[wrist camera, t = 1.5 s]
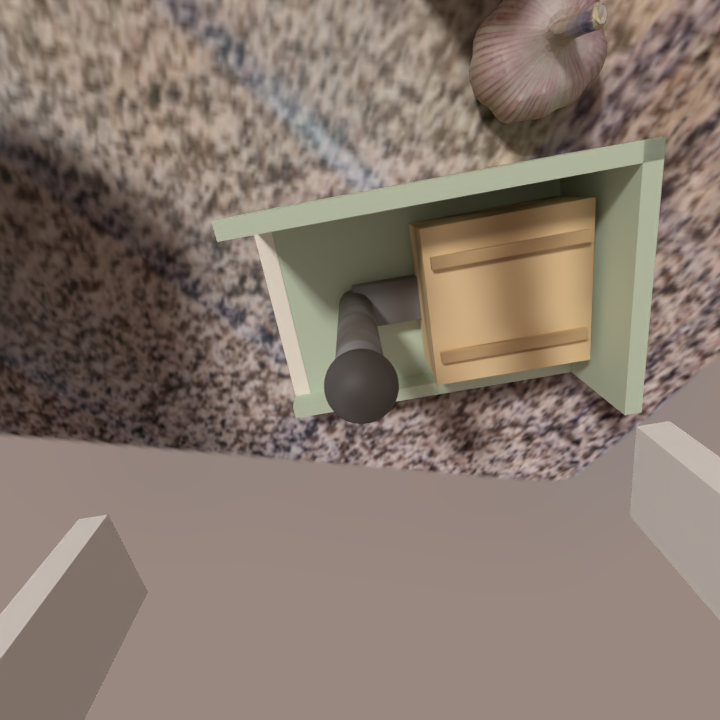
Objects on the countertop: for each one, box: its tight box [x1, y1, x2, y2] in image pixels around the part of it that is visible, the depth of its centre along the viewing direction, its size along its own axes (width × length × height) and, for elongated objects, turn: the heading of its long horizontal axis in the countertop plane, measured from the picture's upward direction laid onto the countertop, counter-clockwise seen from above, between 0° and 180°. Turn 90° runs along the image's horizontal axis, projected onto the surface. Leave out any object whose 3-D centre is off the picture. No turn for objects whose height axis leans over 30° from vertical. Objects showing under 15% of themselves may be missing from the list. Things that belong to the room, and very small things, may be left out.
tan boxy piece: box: [324, 196, 596, 424], centre depth 23 cm, size 16×10×15 cm, turn 100°
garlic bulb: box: [469, 0, 607, 124], centre depth 23 cm, size 8×7×8 cm
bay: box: [211, 136, 666, 418], centre depth 27 cm, size 22×15×9 cm
